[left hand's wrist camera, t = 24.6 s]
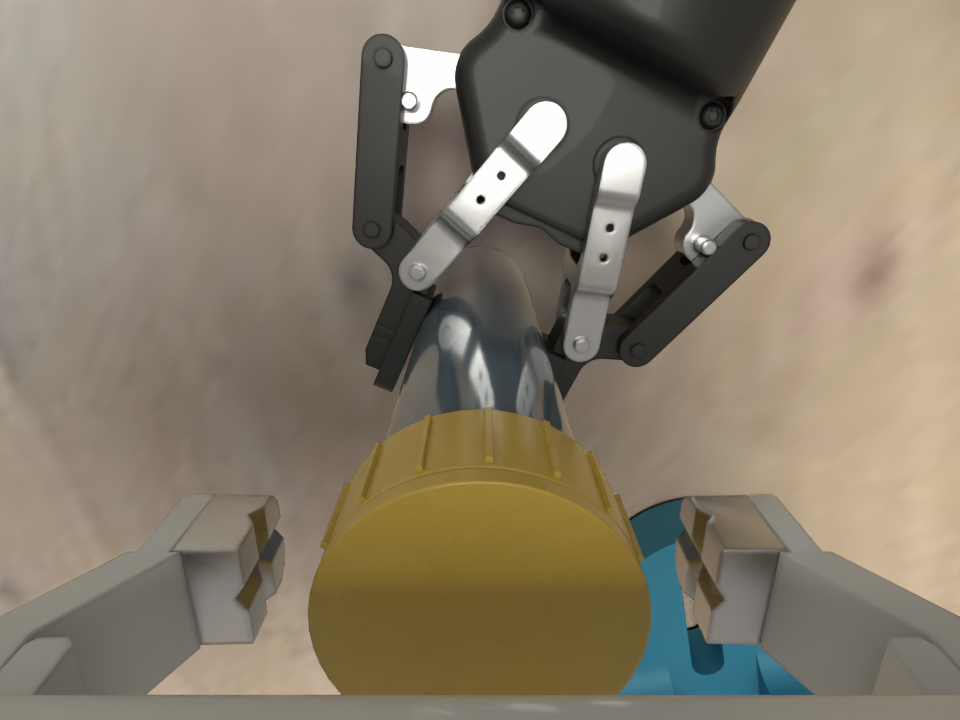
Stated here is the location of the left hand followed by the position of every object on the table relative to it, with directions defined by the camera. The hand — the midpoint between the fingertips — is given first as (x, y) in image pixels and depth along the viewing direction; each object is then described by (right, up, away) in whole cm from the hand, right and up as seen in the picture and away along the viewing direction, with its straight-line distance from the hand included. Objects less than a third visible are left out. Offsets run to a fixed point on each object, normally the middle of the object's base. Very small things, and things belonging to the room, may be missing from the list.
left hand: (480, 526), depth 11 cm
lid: (0, -1, -2) cm, 2 cm away
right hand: (-1, +1, +11) cm, 11 cm away
